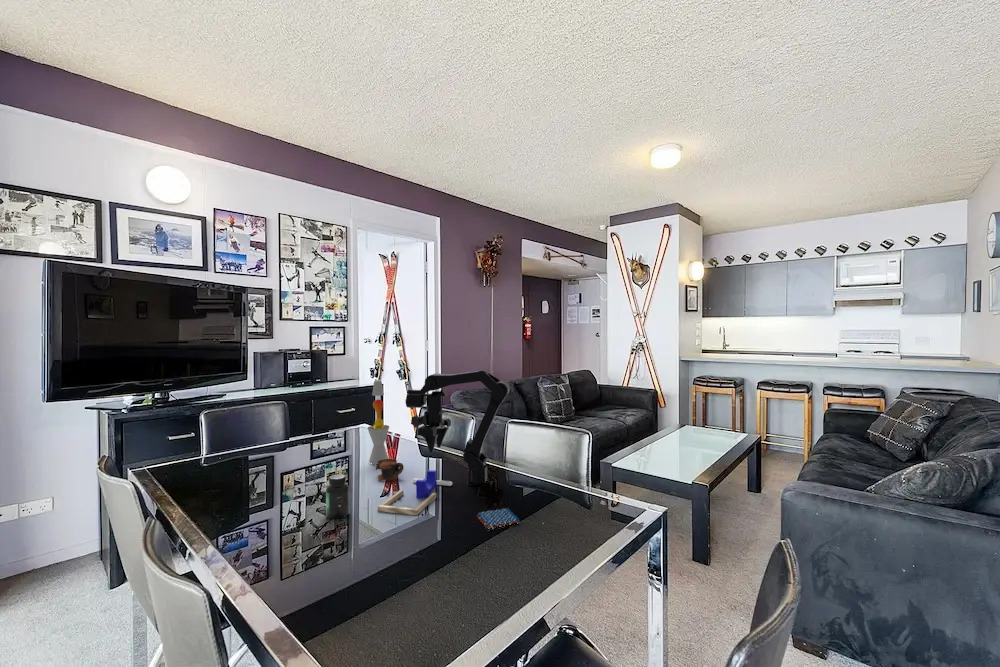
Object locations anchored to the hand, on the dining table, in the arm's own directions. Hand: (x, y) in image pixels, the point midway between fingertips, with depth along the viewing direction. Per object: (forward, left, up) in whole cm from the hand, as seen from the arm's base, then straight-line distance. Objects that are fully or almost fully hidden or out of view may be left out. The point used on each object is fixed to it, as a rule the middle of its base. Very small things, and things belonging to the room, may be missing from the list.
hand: (435, 449), depth 174 cm
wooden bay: (0, +22, -12) cm, 25 cm away
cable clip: (-1, +11, -12) cm, 17 cm away
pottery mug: (+19, 0, -12) cm, 23 cm away
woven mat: (-32, +28, -13) cm, 44 cm away
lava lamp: (+34, -18, -12) cm, 40 cm away
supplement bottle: (+17, +36, -12) cm, 42 cm away
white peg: (0, +3, -12) cm, 12 cm away
